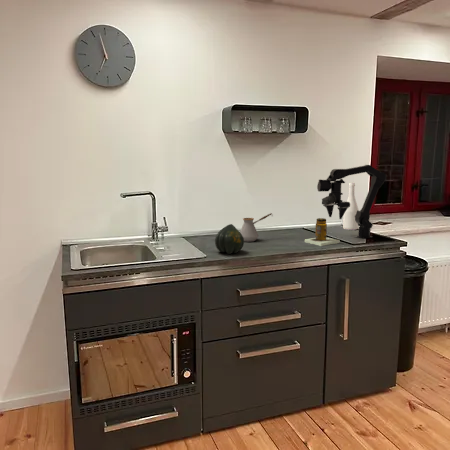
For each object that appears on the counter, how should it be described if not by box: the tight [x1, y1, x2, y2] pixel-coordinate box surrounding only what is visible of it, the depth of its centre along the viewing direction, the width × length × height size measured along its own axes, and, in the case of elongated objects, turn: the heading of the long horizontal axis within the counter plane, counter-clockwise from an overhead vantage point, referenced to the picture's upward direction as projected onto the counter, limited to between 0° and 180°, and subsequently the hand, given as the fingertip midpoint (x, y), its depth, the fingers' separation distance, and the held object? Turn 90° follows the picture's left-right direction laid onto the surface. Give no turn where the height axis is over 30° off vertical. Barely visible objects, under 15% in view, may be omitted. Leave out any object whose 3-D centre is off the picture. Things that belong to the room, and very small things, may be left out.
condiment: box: [308, 217, 328, 242], centre depth 243 cm, size 7×8×12 cm
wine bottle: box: [342, 182, 360, 231], centre depth 284 cm, size 10×10×30 cm
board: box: [304, 237, 341, 247], centre depth 245 cm, size 14×13×2 cm
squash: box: [214, 223, 245, 255], centre depth 225 cm, size 14×15×15 cm
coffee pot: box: [239, 212, 274, 243], centre depth 255 cm, size 21×12×15 cm, turn 112°
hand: (335, 218), depth 254 cm, fingers open, 9 cm apart
